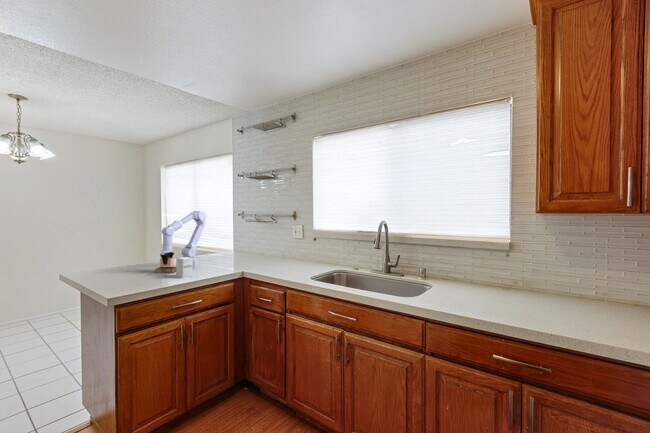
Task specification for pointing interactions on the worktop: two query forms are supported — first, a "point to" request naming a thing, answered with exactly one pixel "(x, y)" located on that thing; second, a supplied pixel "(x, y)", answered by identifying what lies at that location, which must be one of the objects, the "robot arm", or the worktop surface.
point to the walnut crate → (165, 270)
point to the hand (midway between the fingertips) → (167, 263)
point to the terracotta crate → (169, 263)
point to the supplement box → (184, 267)
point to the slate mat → (156, 274)
